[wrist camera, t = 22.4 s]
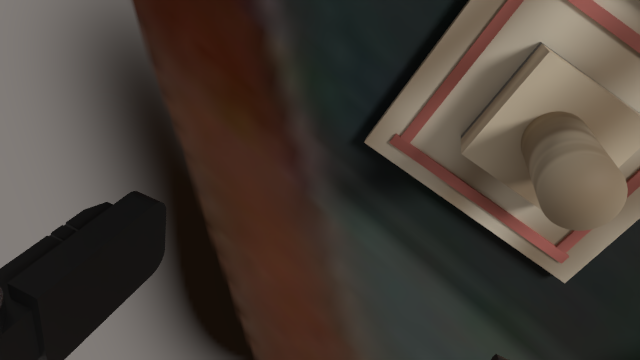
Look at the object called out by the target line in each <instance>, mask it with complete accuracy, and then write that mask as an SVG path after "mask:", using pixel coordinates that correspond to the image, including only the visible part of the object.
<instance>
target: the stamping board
mask: <svg viewBox="0 0 640 360" xmlns="http://www.w3.org/2000/svg"><path fill="white" fill-rule="evenodd" d="M540 42H542V43H543V44H545V45H546V46H547V47H549V48H550V49H552V50H553V51H554V52H556V53H557V54H558V55H560V56H561V57H563V58H564V59H565V60H567V61H568V62H570V63H571V64H572V65H574V66H575V67H577V68H578V69H579V70H581V71H582V72H583V73H585V74H586V75H588V76H589V77H590V78H592V79H593V80H595V81H596V82H597V83H599V84H600V85H601V86H603V87H604V88H606V89H607V90H608V91H610V92H611V93H613V94H614V95H615V96H617V97H618V98H620V99H621V100H622V101H624V102H625V103H626V104H628V105H629V106H631V107H632V108H633V109H635V110H636V111H638V112H639V113H640V0H468V2H467V3H466V4H465V6H464V7H463V8H462V10H461V11H460V13H459V14H458V15H457V17H456V18H455V19H454V21H453V22H452V23H451V25H450V26H449V27H448V29H447V30H446V31H445V33H444V34H443V35H442V37H441V38H440V39H439V41H438V42H437V43H436V45H435V46H434V47H433V49H432V50H431V51H430V53H429V54H428V55H427V57H426V58H425V59H424V61H423V62H422V63H421V65H420V66H419V67H418V69H417V70H416V71H415V73H414V74H413V76H412V77H411V78H410V80H409V81H408V82H407V84H406V85H405V86H404V88H403V89H402V90H401V92H400V93H399V94H398V96H397V97H396V98H395V100H394V101H393V102H392V104H391V105H390V106H389V108H388V109H387V110H386V112H385V113H384V114H383V116H382V117H381V118H380V120H379V121H378V122H377V124H376V125H375V126H374V128H373V129H372V130H371V132H370V133H369V134H368V136H367V137H366V140H365V142H364V143H366V144H367V145H369V146H370V147H371V148H373V149H374V150H376V151H377V152H379V153H380V154H381V155H383V156H384V157H386V158H387V159H389V160H390V161H391V162H393V163H394V164H396V165H397V166H398V167H400V168H401V169H403V170H404V171H406V172H407V173H408V174H410V175H411V176H413V177H414V178H416V179H417V180H418V181H420V182H421V183H423V184H424V185H426V186H427V187H428V188H430V189H431V190H433V191H434V192H436V193H437V194H438V195H440V196H441V197H443V198H444V199H445V200H447V201H448V202H450V203H451V204H453V205H454V206H455V207H457V208H458V209H460V210H461V211H463V212H464V213H465V214H467V215H468V216H470V217H471V218H473V219H474V220H475V221H477V222H478V223H480V224H481V225H483V226H484V227H485V228H487V229H488V230H490V231H491V232H493V233H494V234H495V235H497V236H498V237H500V238H501V239H502V240H504V241H505V242H507V243H508V244H510V245H511V246H512V247H514V248H515V249H517V250H518V251H520V252H521V253H522V254H524V255H525V256H527V257H528V258H530V259H531V260H532V261H534V262H535V263H537V264H538V265H540V266H541V267H542V268H544V269H545V270H547V271H548V272H550V273H551V274H552V275H554V276H555V277H557V278H558V279H559V280H561V281H562V282H564V283H566V282H567V281H568V280H569V279H570V278H571V277H572V276H574V275H575V274H576V273H577V272H578V271H579V270H581V269H582V268H583V267H584V266H585V265H586V264H587V263H589V262H590V261H591V260H592V259H593V258H594V257H596V256H597V255H598V254H599V253H600V252H601V251H602V250H604V249H605V248H606V247H607V246H608V245H609V244H611V243H612V242H613V241H614V240H615V239H616V238H617V237H619V236H620V235H621V234H622V233H623V232H624V231H626V230H627V229H628V228H629V227H630V226H631V225H632V224H634V223H635V222H636V221H637V220H638V219H639V218H640V148H639V149H638V150H637V151H636V152H635V153H634V154H633V155H632V156H631V157H630V158H629V159H628V160H627V161H626V162H624V163H623V164H622V165H621V166H620V167H619V170H620V171H621V172H622V174H623V175H624V177H625V180H626V183H627V188H628V193H627V199H626V202H625V205H624V206H623V208H622V210H621V211H620V212H619V214H618V215H617V216H616V217H615V218H614V219H612V220H611V221H610V222H608V223H607V224H605V225H603V226H601V227H598V228H595V229H591V230H584V231H576V230H569V229H565V228H562V227H560V226H557V225H556V224H554V223H552V222H551V221H550V220H549V219H548V218H547V217H546V216H545V215H544V213H543V212H542V210H540V209H539V208H537V207H536V206H535V205H533V204H532V203H530V202H529V201H528V200H526V199H525V198H523V197H522V196H520V195H519V194H518V193H516V192H515V191H513V190H512V189H510V188H509V187H508V186H506V185H505V184H503V183H502V182H501V181H499V180H498V179H496V178H495V177H493V176H492V175H491V174H489V173H488V172H486V171H485V170H483V169H482V168H481V167H479V166H478V165H476V164H475V163H474V162H472V161H471V160H469V159H468V158H466V157H465V156H464V155H462V154H461V135H462V134H463V133H464V132H465V131H466V129H467V128H468V127H469V126H470V125H471V123H472V122H473V121H474V120H475V119H476V118H477V116H478V115H479V114H480V113H481V112H482V110H483V109H484V108H485V107H486V106H487V105H488V103H489V102H490V101H491V100H492V99H493V97H494V96H495V95H496V94H497V93H498V92H499V90H500V89H501V88H502V87H503V86H504V84H505V83H506V82H507V81H508V80H509V78H510V77H511V76H512V75H513V74H514V73H515V71H516V70H517V69H518V68H519V67H520V65H521V64H522V63H523V62H524V61H525V60H526V58H527V57H528V56H529V55H530V54H531V52H532V51H533V50H534V49H535V48H536V47H537V45H538V44H539V43H540Z"/></svg>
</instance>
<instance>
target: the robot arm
mask: <svg viewBox="0 0 640 360" xmlns="http://www.w3.org/2000/svg"><path fill="white" fill-rule="evenodd" d="M165 227H166V206H165V204H164V203H162V202H160V201H157V200H155V199H153V198H151V197H149V196H146V195H144V194H142V193H140V192H137V191H133V192H130V193H129V194H127V195H126V196H125V197H123V198H122V199H120V200H119V201H118V202H116V203H115V204H114V205H113V204H111V203H108V202H105V203H103V204H99V205H97V206H94V207H91V208H88V209H85V210H83V211H82V212H80V213H79V214H77V215H76V216H75V217H73V218H72V219H70V220H69V221H67V222H66V225H64V226H63V225H62V226H60V227H59V228H57V229H56V230H55V231H53V232H52V233H51V235H50V236H46V237H45V238H43V239H42V240H40V241H39V242H38V243H36V244H35V245H33V246H32V247H31V248H29V249H27V250H26V251H25V252H23V253H22V254H20V255H19V256H18V257H16V258H15V259H13V260H12V261H10V262H9V263H8V264H6V265H5V266H3V267H2V268H1V269H0V360H64V359H65V358H66V357H67V356H68V355H70V354H71V352H73V351H74V350H75V349H76V348H77V347H78V346H79V345H80V344H81V343H82V342H83V341H84V340H85V339H86V338H87V337H88V336H89V335H90V334H91V333H92V332H93V331H94V330H95V329H96V328H97V327H98V326H100V324H102V323H103V322H104V321H105V320H106V319H107V318H108V317H109V316H110V315H111V314H112V313H113V312H114V311H115V310H116V309H117V308H118V307H119V306H120V305H121V304H122V303H123V302H124V301H125V300H126V299H127V298H128V297H130V296H131V295H132V294H133V293H134V292H135V291H136V290H137V289H138V288H139V287H140V286H141V285H142V284H143V283H144V282H145V281H146V280H147V279H148V278H149V277H150V276H151V275H152V274H153V273H154V272H155V271H156V269H157V268H158V266H159V265H160V263H161V261H162V258H163V256H164V251H165V229H166V228H165ZM491 360H508V359H506V358H504V357H501V356H499V355H497V354H495V355H494V356H493V357H492V359H491Z"/></svg>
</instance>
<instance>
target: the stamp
mask: <svg viewBox="0 0 640 360" xmlns="http://www.w3.org/2000/svg"><path fill="white" fill-rule="evenodd" d="M639 148H640V113H639V112H638V111H636V110H635V109H633V108H632V107H631V106H629V105H628V104H626V103H625V102H624V101H622V100H621V99H620V98H618V97H617V96H615V95H614V94H613V93H611V92H610V91H608V90H607V89H606V88H604V87H603V86H601V85H600V84H599V83H597V82H596V81H595V80H593V79H592V78H590V77H589V76H588V75H586V74H585V73H583V72H582V71H581V70H579V69H578V68H577V67H575V66H574V65H572V64H571V63H570V62H568V61H567V60H565V59H564V58H563V57H561V56H560V55H558V54H557V53H556V52H554V51H553V50H552V49H550V48H549V47H547V46H546V45H545V44H543V43H542V42H540V43H539V44H538V45H537V47H536V48H535V49H534V50H533V51H532V52H531V54H530V55H529V56H528V57H527V58H526V60H525V61H524V62H523V63H522V64H521V65H520V67H519V68H518V69H517V70H516V71H515V73H514V74H513V75H512V76H511V77H510V78H509V80H508V81H507V82H506V83H505V84H504V86H503V87H502V88H501V89H500V90H499V92H498V93H497V94H496V95H495V96H494V97H493V99H492V100H491V101H490V102H489V103H488V105H487V106H486V107H485V108H484V109H483V110H482V112H481V113H480V114H479V115H478V116H477V118H476V119H475V120H474V121H473V122H472V123H471V125H470V126H469V127H468V128H467V129H466V131H465V132H464V133H463V134H462V135H461V154H462V155H464V156H465V157H466V158H468V159H469V160H471V161H472V162H474V163H475V164H476V165H478V166H479V167H481V168H482V169H483V170H485V171H486V172H488V173H489V174H491V175H492V176H493V177H495V178H496V179H498V180H499V181H501V182H502V183H503V184H505V185H506V186H508V187H509V188H510V189H512V190H513V191H515V192H516V193H518V194H519V195H520V196H522V197H523V198H525V199H526V200H528V201H529V202H530V203H532V204H533V205H535V206H536V207H537V208H539V209H540V210H542V212H543V213H544V215H545V216H546V217H547V218H548V219H549V220H550V221H551V222H552V223H554V224H556V225H557V226H560V227H562V228H565V229H569V230H576V231H584V230H591V229H595V228H598V227H601V226H603V225H605V224H607V223H608V222H610V221H611V220H612V219H614V218H615V217H616V216H617V215H618V214H619V212H620V211H621V210H622V208H623V206H624V205H625V202H626V199H627V193H628V188H627V183H626V180H625V177H624V175H623V174H622V172H621V171H620V170H619V167H620V166H621V165H622V164H623V163H624V162H626V161H627V160H628V159H629V158H630V157H631V156H632V155H633V154H634V153H635V152H636V151H637V150H638V149H639Z"/></svg>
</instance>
